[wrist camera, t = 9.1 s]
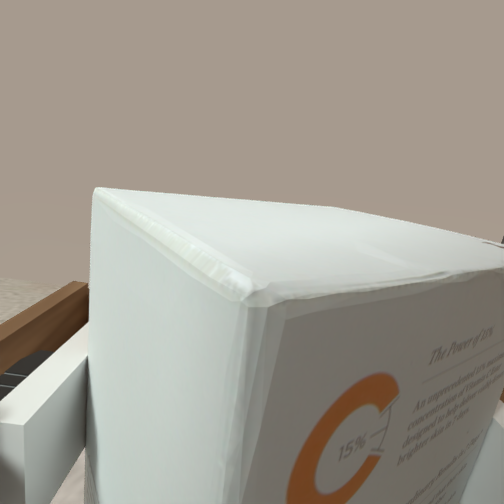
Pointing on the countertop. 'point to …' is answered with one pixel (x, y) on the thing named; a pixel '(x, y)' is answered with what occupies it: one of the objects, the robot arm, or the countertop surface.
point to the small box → (285, 353)
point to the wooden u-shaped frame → (48, 325)
